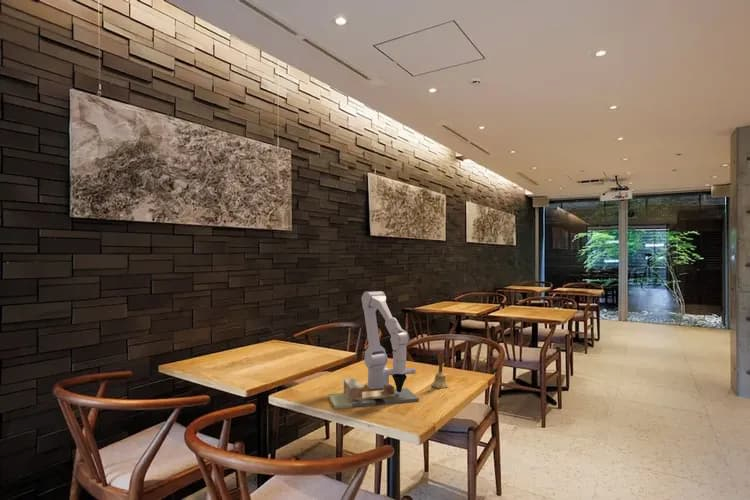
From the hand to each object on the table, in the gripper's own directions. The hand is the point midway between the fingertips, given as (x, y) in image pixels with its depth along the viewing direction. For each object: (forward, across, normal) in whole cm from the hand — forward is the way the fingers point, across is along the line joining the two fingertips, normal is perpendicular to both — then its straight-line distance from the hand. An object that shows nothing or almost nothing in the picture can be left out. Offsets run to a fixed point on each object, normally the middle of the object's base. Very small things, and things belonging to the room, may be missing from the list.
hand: (398, 391), depth 183 cm
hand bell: (+3, +24, +10) cm, 27 cm away
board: (+2, -12, 0) cm, 12 cm away
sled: (+1, -13, 0) cm, 13 cm away
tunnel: (+1, -21, 0) cm, 21 cm away
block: (0, -21, 0) cm, 21 cm away
